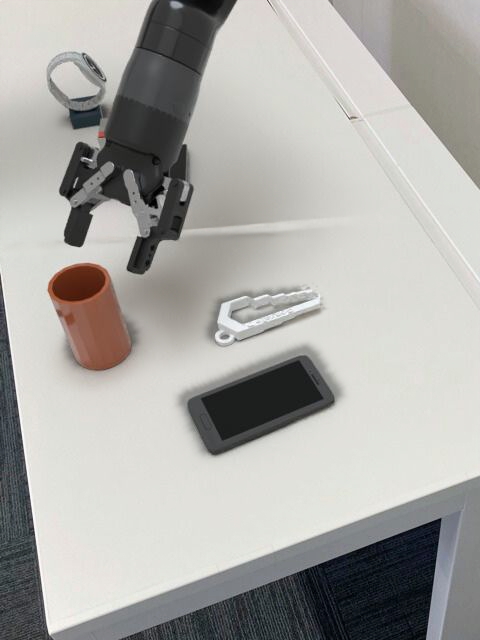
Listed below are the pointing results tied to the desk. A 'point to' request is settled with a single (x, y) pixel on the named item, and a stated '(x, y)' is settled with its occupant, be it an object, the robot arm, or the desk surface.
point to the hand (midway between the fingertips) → (102, 258)
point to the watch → (83, 108)
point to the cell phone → (259, 403)
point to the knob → (101, 130)
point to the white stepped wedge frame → (259, 325)
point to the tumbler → (90, 315)
